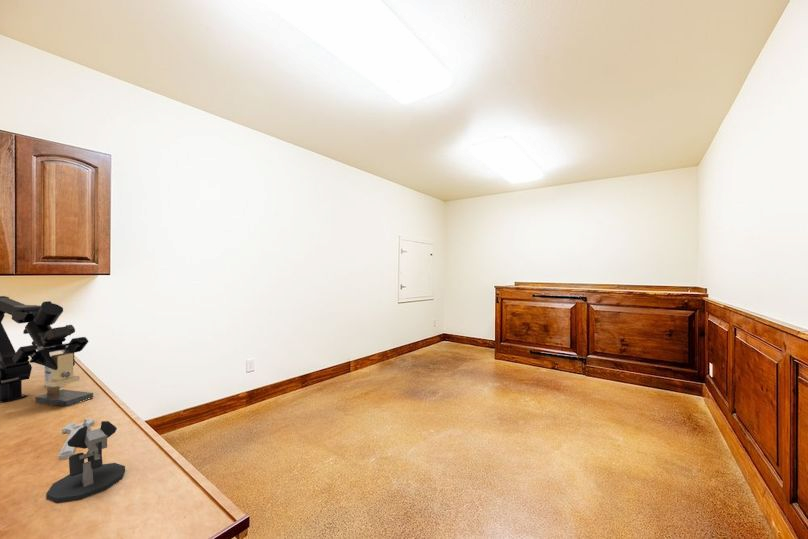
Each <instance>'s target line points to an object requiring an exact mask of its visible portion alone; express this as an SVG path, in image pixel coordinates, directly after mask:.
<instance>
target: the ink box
mask: <svg viewBox="0 0 808 539" xmlns="http://www.w3.org/2000/svg"><path fill="white" fill-rule="evenodd" d="M48 380H51V368H48V367H46V366H44V382H45V381H48ZM61 386H64V387H65V384H64V385H61ZM45 388H46V389H47V386H46V387H45Z"/></svg>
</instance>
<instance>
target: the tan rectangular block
mask: <svg viewBox="0 0 808 539" xmlns="http://www.w3.org/2000/svg"><path fill="white" fill-rule="evenodd" d="M50 356H51V357H52V359H53V360H54V362H55V363H56V365H57V367H58V369H57V370H53V369H51V380H48V381H45V380H44V387H45V386H51V387H57V386H61V385H64V386H65V385H67V384H71V383H74V382H78V381H79V382H80V375H74V366H73V353H63V352H62V353H59V354H58V353H57V354H53V355H50Z"/></svg>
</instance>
